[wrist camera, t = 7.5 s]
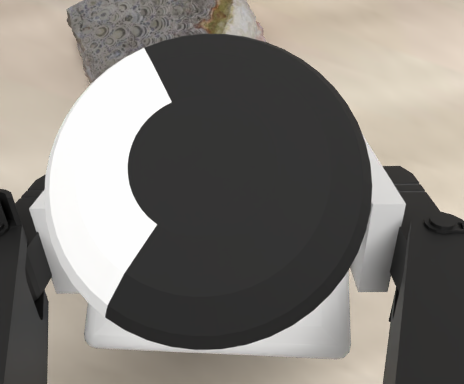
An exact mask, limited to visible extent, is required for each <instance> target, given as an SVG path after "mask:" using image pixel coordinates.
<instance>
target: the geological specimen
mask: <svg viewBox="0 0 464 384" xmlns="http://www.w3.org/2000/svg"><path fill="white" fill-rule="evenodd" d="M66 10H67V15H68V18H67V22H68V25H69V26H70V27H71V28H72V32H73V35H74V36H75V38H76V40H77V45H78V50H79V52H80V55H81V57H82V58H83V68H84V71H85V72H86V73H85V75H86V76H87V77H88V78H89V82H90V83H92V82H94V81H95V80H96V79H97V78H98V77H99V76H100V75H102V74H103V73H104V72H105V71H106V70H107V69H109V68H110V67H112V66H113V65H115V64H116V63H117V62H119V61H120V60H122V59H123V58H125V57H127V56H129V55H131V54H133V53H134V52H136V51H138V50H140V49H142V48H145V47H147V46H150V45H153V44H155V43H158V42H161V41H164V40H168V39H172V38H176V37H181V36H187V35H196V34H230V35H237V36H245V37H249V38H252V39H256V40H260V41H264V42H266V40H265V37H264V36H263V28H262V26H261V25H260V23H259V22H256V16H255V15H254V13H253V12H252V10H251V9H250V7H249V5H248V3H247V0H83V1H81V2H79V3H77V4H75V5H73V6H72V7H70V8H68V9H66Z"/></svg>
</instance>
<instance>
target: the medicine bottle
mask: <svg viewBox="0 0 464 384" xmlns="http://www.w3.org/2000/svg"><path fill="white" fill-rule="evenodd" d="M371 199H372V176H371V164H370V160H369V156H368V151H367V147H366V143H365V140H364V138H363V135H362V132H361V130H360V127H359V125H358V122H357V121H356V119H355V117H354V115H353V114H352V112H351V110H350V108H349V106H348V105H347V103H346V102H345V101H344V99H343V98H342V97H341V95H340V94H339V93H338V91H337V90H336V89H335V88H334V86H332V85H331V84H330V83H329V82H328V81H327V80H326V79H325V78H324V77H323V76H322V75H321V74H320V73H319V72H318V71H317V70H315V69H314V68H313V67H311V66H310V65H309V64H307V63H306V62H305V61H303V60H302V59H300V58H298V57H297V56H295V55H293V54H291V53H289V52H288V51H286V50H284V49H282V48H279V47H277V46H274V45H272V44H269V43H267V42H264V41H260V40H256V39H252V38H249V37H245V36H237V35H230V34H196V35H187V36H181V37H176V38H172V39H168V40H164V41H161V42H158V43H155V44H153V45H150V46H147V47H145V48H142V49H140V50H138V51H136V52H134V53H133V54H131V55H129V56H127V57H125V58H123V59H122V60H120V61H119V62H117V63H116V64H115V65H113V66H112V67H110V68H109V69H107V70H106V71H105V72H104V73H103V74H102V75H100V76H99V77H98V78H97V79H96V80H95V81H94V82H92V83H91V85H90V86H89V87H88V88H87V89H86V90H85V91H84V92H83V94H82V95H81V96H80V97H79V98H78V99H77V101H76V102H75V104H74V105H73V107H72V108H71V110H70V111H69V113H68V114H67V116H66V117H65V119H64V121H63V123H62V125H61V127H60V129H59V131H58V133H57V135H56V138H55V141H54V144H53V147H52V150H51V153H50V156H49V160H48V166H47V171H46V176H45V192H44V203H45V213H46V222H47V226H48V230H49V234H50V238H51V243H52V245H53V248H54V250H55V252H56V255H57V257H58V260H59V262H60V264H61V266H62V268H63V269H64V271H65V273H66V274H67V276H68V278H69V279H70V281H71V283H72V284H73V285H74V287H75V288H76V289H77V290H78V291H79V293H80V294H81V295H82V296H83V297H84V299H85V300H86V301H87V302H88V307H87V316H86V324H85V332H84V335H85V341H86V342H87V343H88V345H89V346H91V347H94V348H99V349H121V350H143V351H165V352H187V353H209V354H231V355H253V356H275V357H296V358H318V359H340V358H344V357H345V356H346V355H347V354H348V353H349V350H350V346H351V336H350V304H349V271H348V270H349V268H350V266H351V265H352V263H353V261H354V259H355V257H356V256H357V254H358V251H359V249H360V246H361V243H362V241H363V238H364V235H365V233H366V229H367V225H368V220H369V215H370V211H371Z"/></svg>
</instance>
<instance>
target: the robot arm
mask: <svg viewBox="0 0 464 384" xmlns="http://www.w3.org/2000/svg"><path fill="white" fill-rule="evenodd" d="M362 135H363V134H362ZM363 138H364V136H363ZM364 140H365V143H366V147H367V151H368V156H369V160H370V164H371V176H372V199H371V211H370V215H369V220H368V225H367V229H366V233H365V235H364V238H363V241H362V243H361V246H360V249H359V251H358V254H357V256H356V257H355V259H354V261H353V263H352V265H351V266H350V268H351V271H352V274H353V277H354V280H355V283H356V286H357V289H358V292H387V291H388V287H389V282H390V277H391V276H392V278H393V280H394V283H395V285H396V291H395V295H394V300H393V304H392V309H391V313H390V318H389V322H391V323H390V331H389V339H388V347H387V355H386V363H385V371H384V378H383V384H464V221H463V220H462V219H460V218H458V217H456V216H454V215H451V214H447V213H444V212H440V210H439V209H438V208H437V206H436V205H435V204H434V202H433V201H432V200H431V198H430V197H429V195H428V194H427V193H426V192H425V190H424V189H423V187H422V186H421V185H419V182H418V180H417V179H416V178H415V176H414V175H413V174H412V173H411V172H409V171H407V170H406V169H404V168H402V167H401V166H382V165H381V163H380V162H379V160H378V158H377V157H376V155H375V154H374V152H373V150H372V149H371V147H370V146H369V144H368V142H367V141H366V139H365V138H364ZM45 176H46V175H44V176H42V177H41V178H39V179H37V180H36V181H35V182H34V183H33V184H32V185H31V186H30V187H29V189H28V191H26V192H25V193H24V194H23V195H22V197H21V199H19V200H18V201H17V202H16V203H15V202H14V200H13V197H12V194H11V192H9V191H7V190H4V189H0V384H47V359H48V299H47V296H46V293H45V290H44V289H45V287H46V286H47V284H48V282H49V280H50V279H51V278H52V281H53V284H54V287H55V290H56V293H79V291H78V290H77V289H76V288H75V287H74V285H73V284H72V283H71V281H70V279H69V278H68V276H67V274H66V273H65V271H64V269H63V268H62V266H61V264H60V262H59V260H58V257H57V255H56V252H55V250H54V248H53V245H52V243H51V238H50V234H49V230H48V226H47V222H46V213H45V203H44V192H45Z"/></svg>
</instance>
